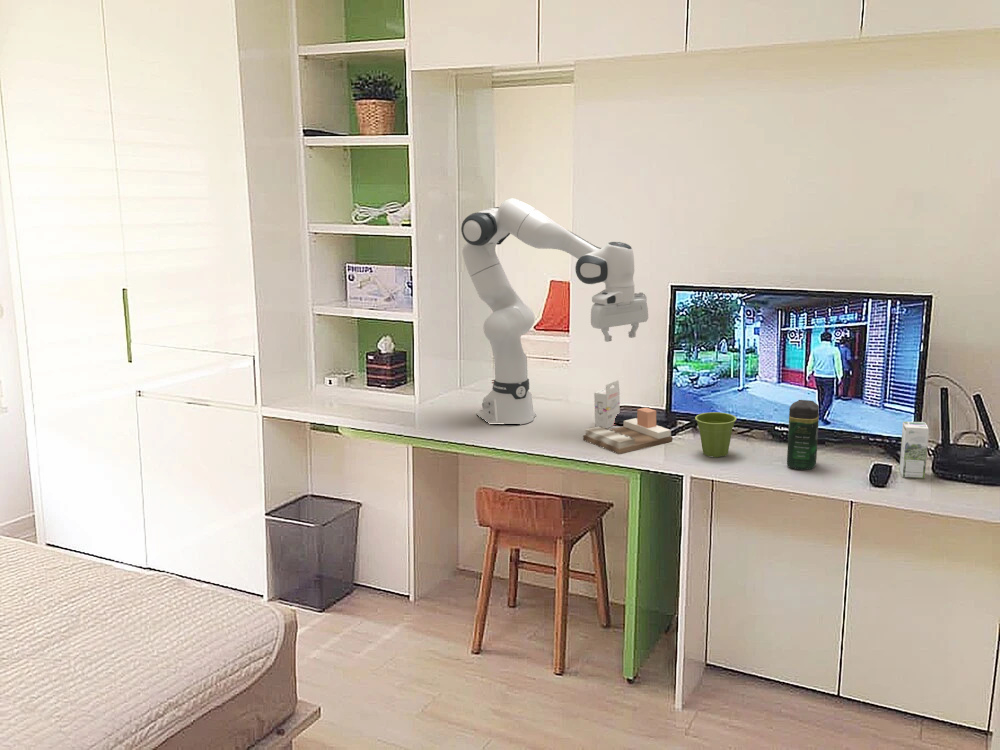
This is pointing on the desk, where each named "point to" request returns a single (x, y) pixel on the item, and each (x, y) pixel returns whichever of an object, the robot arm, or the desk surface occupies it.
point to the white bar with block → (647, 424)
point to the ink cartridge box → (607, 405)
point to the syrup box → (914, 449)
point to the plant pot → (715, 432)
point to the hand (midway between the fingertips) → (620, 339)
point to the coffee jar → (803, 434)
